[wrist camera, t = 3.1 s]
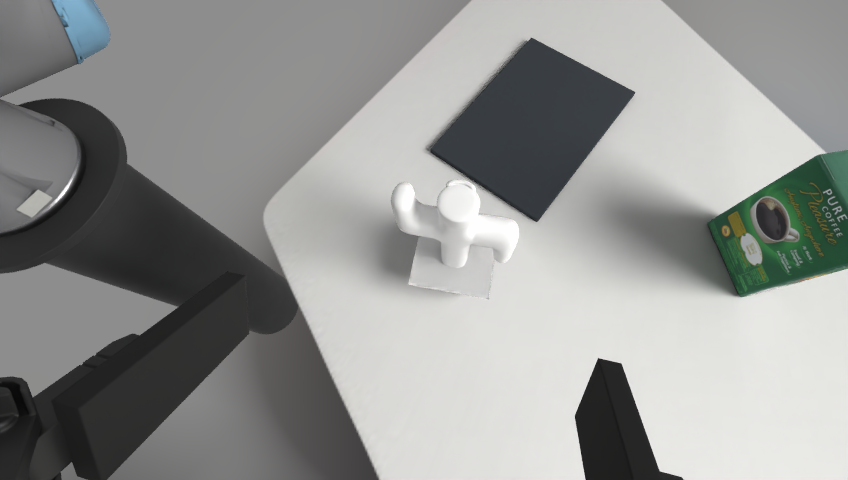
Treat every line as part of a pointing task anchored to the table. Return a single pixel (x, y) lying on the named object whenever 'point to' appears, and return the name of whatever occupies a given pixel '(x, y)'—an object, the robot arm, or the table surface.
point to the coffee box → (788, 228)
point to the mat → (533, 127)
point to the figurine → (454, 239)
